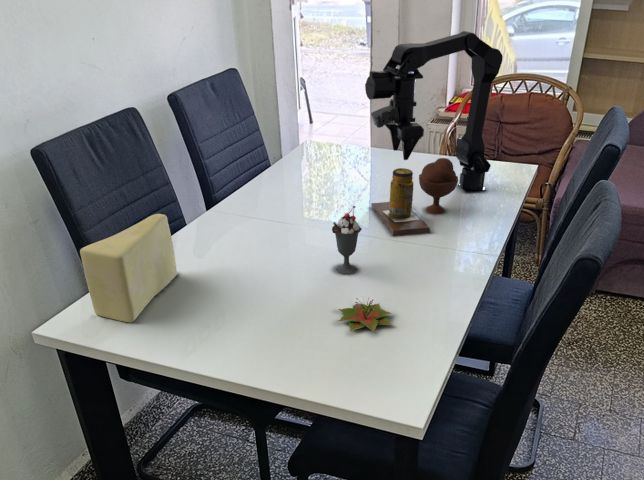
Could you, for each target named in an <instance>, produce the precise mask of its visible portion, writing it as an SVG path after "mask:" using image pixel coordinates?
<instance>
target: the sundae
mask: <svg viewBox="0 0 644 480" xmlns="http://www.w3.org/2000/svg"><path fill="white" fill-rule="evenodd" d="M355 208H357V206H356V205H353V206H352V208H351V209H350V211H349V212H348V213H344V216H341V217H340V218H339V219H338V221H337V222H335V221H334V222H332V223H333V226H332V227H331V231H332V234H335V235H334V236H335V239H336V247H337V251H338V253H339V254H340V255H341V256H342V257H343V263H342V264H339V265H337V266H336V267H335V271H336V272H337V273H339V274H341V275H352V274H354V273H356V272H357V271H358V267H356V265H354V264H350V256H352V255H353V254H354V253H355V252H356V250H357V243H358V238H359V233H360V232H361V231H362V230H363V228H362V227H361V226H360V224H359V222H357V220H356V219H357V217H356V215H354V213H355V212H354V210H355ZM351 212H352V215H351V216H350V214H351Z"/></svg>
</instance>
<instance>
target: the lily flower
mask: <svg viewBox="0 0 644 480" xmlns="http://www.w3.org/2000/svg"><path fill="white" fill-rule="evenodd" d="M361 297H364V296H363V295H362V296H361ZM355 299H356V300H357V301H354V303H355V304H354V305H353V306H352V307H346V308H344V307H343V308H337V310H338V311H339V312H340V313H341V314H343V315H342V316H341V317H340V319H339V320H338V322H348V327H349V332H353V331H355V330H358V329H362V328H368V329H369V330H371V331H372V332H373V333H375V331H376V329H377V326H384V325H385V326H389V325H390V326H394V324H393V323H392V322H391V321H390V319H389V318H387V317H385V316H388V315H392V314H393V313H392V312H390V311H388V310H387V311H386V310H385V309H383V308H381V305H380V303H374V302H373V301H374V299H371V300H370V298H367V303H366V304H365V303H363V302H361V300H359V299H358V297H355ZM362 299H363V301H365V298H362ZM369 300H370V301H369ZM368 302H369V303H368ZM373 303H374V304H373Z"/></svg>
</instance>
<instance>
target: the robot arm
mask: <svg viewBox="0 0 644 480" xmlns="http://www.w3.org/2000/svg"><path fill="white" fill-rule="evenodd" d="M462 51H463V52H464V53H465V54H466V55H467V56H468V57H469V58H470V59H471V66H470V68H471V74H472V77H473V84H472V92H471V97H470V102H469V103H470V105H469V109H468V115H467V121H466V127H465V132H464V134H463V135H462V137H461V138H460V137H458V138H456V143H455V144H456V145H455V149H454V153H455V157H456V159H457V160H458V163H459V165H460V167H462V169H461V172H460V174H459V180H458V183H457V186H458V187H459V188H460V189H461V190H462V191H463V192H465V193H478V192H479V193H480V192H486V189H487V188H485V187H484V185H485V179H486V173H488V172H489V171H490V169H491V167H492V164H491V163H490V162H489V161H488V160H487V159H486V157H485V151H486V150H485V149H486V146H485V141H484V138H483V132H484V126H485V122H486V116H487V112H488V111H487V110H488V105H489V99H490V94H491V89H492V85H493V82H494V81H495V79H496V78H497V76H498V75H499V72H500V70H501V66H502V64H503V54H502V52H501V50H500V49H498V48H495V47H492V46H491V45H489V44H488V43H486V42H485V41H484V40H482V39H481V38H480V37H479V36H477V35H476V33H474V32H471V31H467V30H463V31H461V32H460V33H456V34H451V35H449V36H445V37H442V38H437V39H435V40H431V41H428V42H423V43H421V42H420V43H412V42H411V43H399V44H397V45H396V46H395V47H394V49H393V51H392V53H391V57H390V58H389V60H388V61H387V63H386V64H385V66H384V67H383V69H382V70H381V71H380V70H379V71H378V70H377V71H376V70H370V71H369V76H368V77H367V78H366V81H365V84H364V89H365V95H366V97H367V99H368V100H381V99H382V100H383V99H390V100H389V104H388V105H386V106H383V107H381V108H379V109H377V110H374V111H372V112H370V116H371V118H372V121H373V124H374V125H375V126H376V128H378V129H380V128H383V127H386V128H387V130H388V131H389V135H390V140H391V145H392V150H393V151H398V150H399V147H400V144H401V147H402V159H403V161H408V160H409V158H410V156H411V155H412V153H413V150H414V149H415V147H416V146H417V144H418V142H419V141H420V140H421V139H422V138H423V137H424V134H425V129H424V127H423V126H422V125H420V124H419V123H418V122H416V117H415V116H414V109H415V107H417V101H416V100H415V94H416V93H415V92H416V80H421V79H422V80H423V79H424V75H423V74H422V73H421V72H420V71H419V69H420V68H422V67H424V66H425V65H426V64H427V63H428V62H430V61H432V60H435V59H438V58H442V57H446V56H449V55H452V54H456V53H459V52H462Z"/></svg>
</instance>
